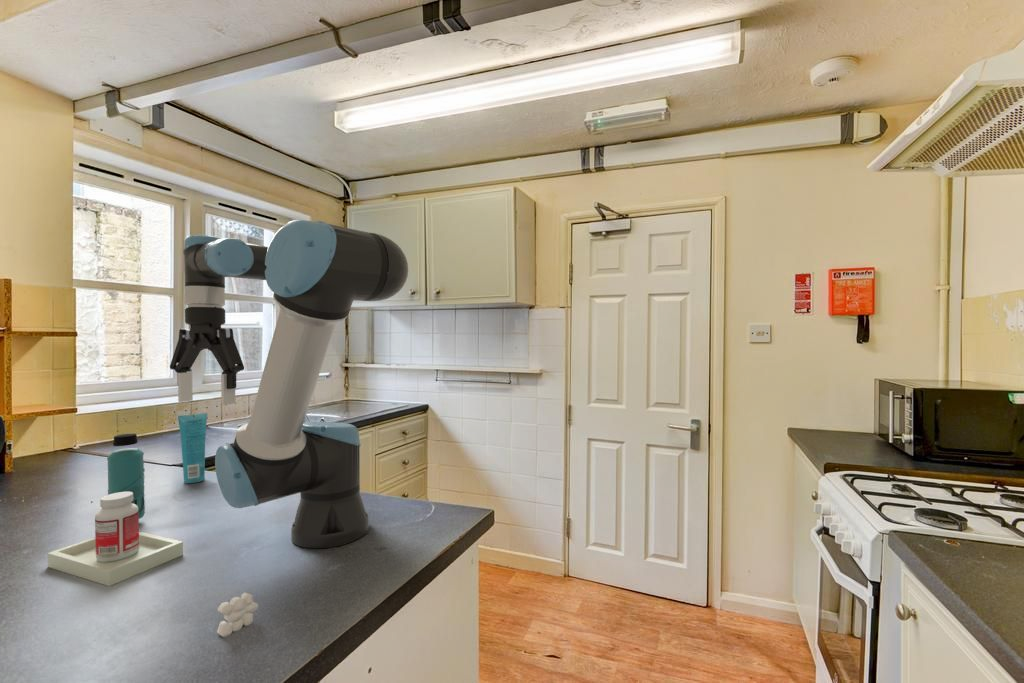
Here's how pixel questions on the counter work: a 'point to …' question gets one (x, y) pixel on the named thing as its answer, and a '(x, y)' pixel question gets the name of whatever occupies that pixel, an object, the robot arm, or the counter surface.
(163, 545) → the tray
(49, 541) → the counter surface
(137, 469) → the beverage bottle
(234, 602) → the white bumpy cluster
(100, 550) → the pill bottle
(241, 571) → the counter surface
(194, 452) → the tube
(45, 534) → the counter surface
